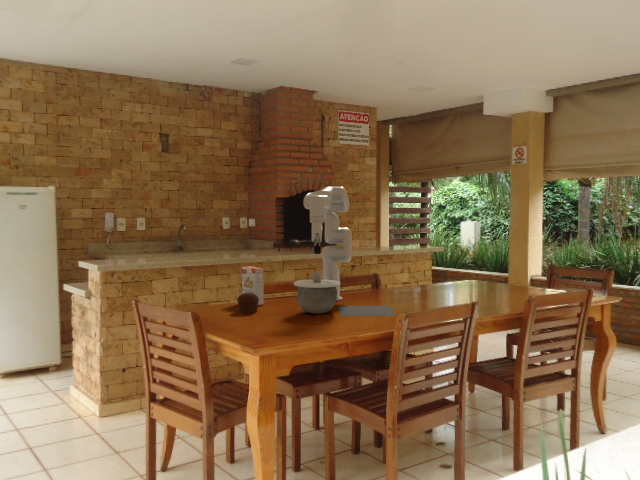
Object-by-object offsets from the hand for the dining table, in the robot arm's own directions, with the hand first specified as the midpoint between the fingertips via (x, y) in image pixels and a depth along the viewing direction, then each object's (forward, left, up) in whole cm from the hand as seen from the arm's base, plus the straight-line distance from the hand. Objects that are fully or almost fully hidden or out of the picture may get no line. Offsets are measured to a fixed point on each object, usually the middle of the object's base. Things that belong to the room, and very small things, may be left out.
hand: (317, 252), depth 305 cm
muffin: (-4, -36, -32) cm, 48 cm away
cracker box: (-29, -36, -32) cm, 56 cm away
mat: (-4, +26, -31) cm, 41 cm away
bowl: (0, 0, -32) cm, 32 cm away
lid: (0, 0, -16) cm, 16 cm away
